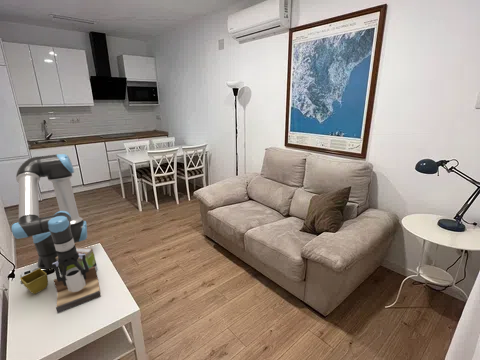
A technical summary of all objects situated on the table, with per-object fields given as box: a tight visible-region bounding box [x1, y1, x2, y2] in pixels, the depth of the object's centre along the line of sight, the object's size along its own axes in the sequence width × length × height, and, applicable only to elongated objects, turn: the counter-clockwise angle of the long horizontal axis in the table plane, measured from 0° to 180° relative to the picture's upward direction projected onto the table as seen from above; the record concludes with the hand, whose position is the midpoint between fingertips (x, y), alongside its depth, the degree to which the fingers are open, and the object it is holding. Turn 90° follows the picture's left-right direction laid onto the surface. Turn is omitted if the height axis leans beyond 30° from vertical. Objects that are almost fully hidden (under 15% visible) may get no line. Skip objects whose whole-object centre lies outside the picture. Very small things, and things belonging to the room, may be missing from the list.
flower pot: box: [19, 268, 49, 295], centre depth 128 cm, size 9×9×9 cm
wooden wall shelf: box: [53, 266, 102, 314], centre depth 124 cm, size 14×18×9 cm
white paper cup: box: [65, 267, 84, 292], centre depth 123 cm, size 7×7×10 cm
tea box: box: [56, 247, 98, 277], centre depth 138 cm, size 15×10×15 cm
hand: (77, 286), depth 125 cm, fingers closed on white paper cup, 6 cm apart
